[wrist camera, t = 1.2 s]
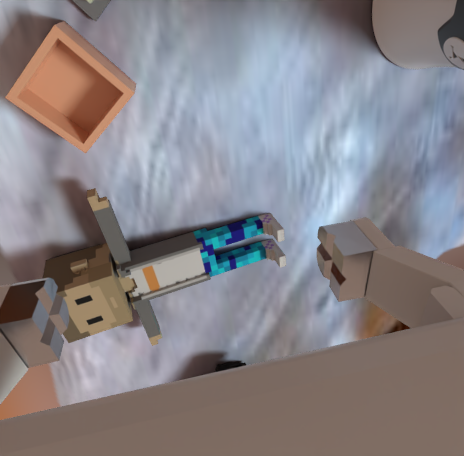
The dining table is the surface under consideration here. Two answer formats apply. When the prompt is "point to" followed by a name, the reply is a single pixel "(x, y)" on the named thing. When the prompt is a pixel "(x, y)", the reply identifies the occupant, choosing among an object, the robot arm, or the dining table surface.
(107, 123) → the orange square open box
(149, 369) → the dining table surface
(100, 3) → the mat
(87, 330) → the toy
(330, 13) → the dining table surface
